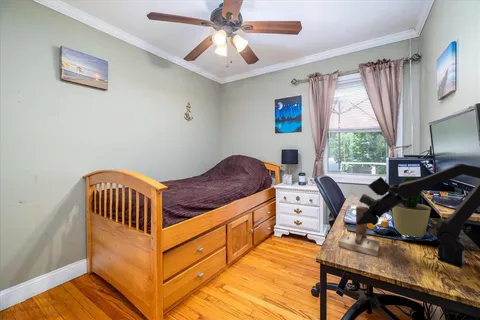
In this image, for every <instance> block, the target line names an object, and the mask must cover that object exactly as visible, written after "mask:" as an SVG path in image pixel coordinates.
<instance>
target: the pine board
mask: <svg viewBox="0 0 480 320" xmlns="http://www.w3.org/2000/svg"><path fill="white" fill-rule="evenodd" d="M356 237H357V236H356V235H352V234H348V233H343V234H341V237H340V238H339V239H338V242H337V245H338V247H340V248H343V249H348V250H351V251H354V252H355V251H356V252H360V253H363V254H368V255H370V256H374V257H378V256H379V253H380V252H379V251H380V247H381V241H380V240H375V239H371V238H370V239H369V238H367V239H366V238H362V240H361V242H360V243H356V242H355V239H356Z"/></svg>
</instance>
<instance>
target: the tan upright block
mask: <svg viewBox="0 0 480 320" xmlns="http://www.w3.org/2000/svg"><path fill="white" fill-rule="evenodd" d="M367 207H368V206H362V205H357V206H356V207H355V236H357V237H356V239H355V242H356V243H360V242H361V240H362V238H366V239H368V238H367V237H368V234H367V233H368V230H367V229H368V228H367V224H361V225H358V224H357V222H358V221H359V220H360V219H361V218H362V217H363V214H362V213H363V212H364V211H365V210H367Z"/></svg>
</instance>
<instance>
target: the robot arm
mask: <svg viewBox="0 0 480 320" xmlns="http://www.w3.org/2000/svg"><path fill="white" fill-rule="evenodd" d="M460 176H467V177H472V178H476V182H475V185H474V187H473V188H472V189H471V191H470V192H469V193H468V194H467V196H466V197H465V198H464V199H463V201H462V202H460V204H459V205H458V206H457V207H456V208H455V209H454V211H453V212H452V213H451V214H450V215H449V217H447V218H445V219H444V218H442V217H439V219H438V221H437V222H436V223H434V224H433V227H435V229H434V230H435V233H436V235H435V237H437V238H438V239H439V240H440V241H439V242H440V243H439V246H437V260H438V261H440V262H443V263H447V264H449V265H451V266H452V265H453V266H456V267H459V268H462V267H463V266H464V265H465V264H466V260H465V253H466V251H465V249H466V246H465V244H464V242H463V240H462V239H461V237H460V235H461V232H462V230H463V226H464V225H465V224H466V223H467V221H468V220H469V219H470V218H471V217H472V216H473V214H474V213H475V212H476V211H477V210H478V209H479V208H480V166H475V165H469V164H465V163H461V162H459V163H455V164H454V165H452V166H450V167H447V168H445V169H442V170H439V171H437V172H435V173H432V174H430V175H427V176H424V177H422V178H419V179H418V178H417V180H412V181H408V182H403V183H401V182H400V183H399V184H389V183H388V182H387V181H386V180H385V179H384V178H383V176H380V177H378V178H377V179H375V180H373V181H372V182H371V183H370V184H368V185H367V187H368V189H370V190H371V191H372V192H373V193H375V195H377V196H381V197H380V198H376V199H375V198H373V197H372V196H369V195H367V194H365V193H363V194H362V195H361V197H360V198H359V199H358V200H359V202H360V203H361V204H364V205H366V207H367V210H365V211H364V212H363V213H362V214H363V217H362V218H361V219H360V220H359V221H358V222H357V224H358V225H361V224H369V223H372V224H373V225H377V224H379V218H381V217H382V216H383V215H385V214H386V213H387V214H388V213H389V212H390V211H391V210H392V208H394V207H395V206H397V205H398V204H400V203H402V204H403V205H404V206H406V202H407V199H403V198H402V197H405V198H411V197H413V196H415V195H416V194H418V193H420V192H421V191H423V192H424V190H426V189H428V188H431V187H433V186H435V185H439V184H441V183H444V182H447V181H449V180H452V179H454V178H457V177H460ZM382 196H383V197H382ZM401 196H402V197H401Z"/></svg>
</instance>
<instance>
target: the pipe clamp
mask: <svg viewBox="0 0 480 320" xmlns="http://www.w3.org/2000/svg"><path fill="white" fill-rule="evenodd" d="M389 223H390V222H389V221H388V220H381V221H380V224H379V226H383V227H387V226H389ZM374 226H375V225H373V224H372V223H369V224H367V227H368V228H367V229H370V230H372V229H373V227H374Z"/></svg>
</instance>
